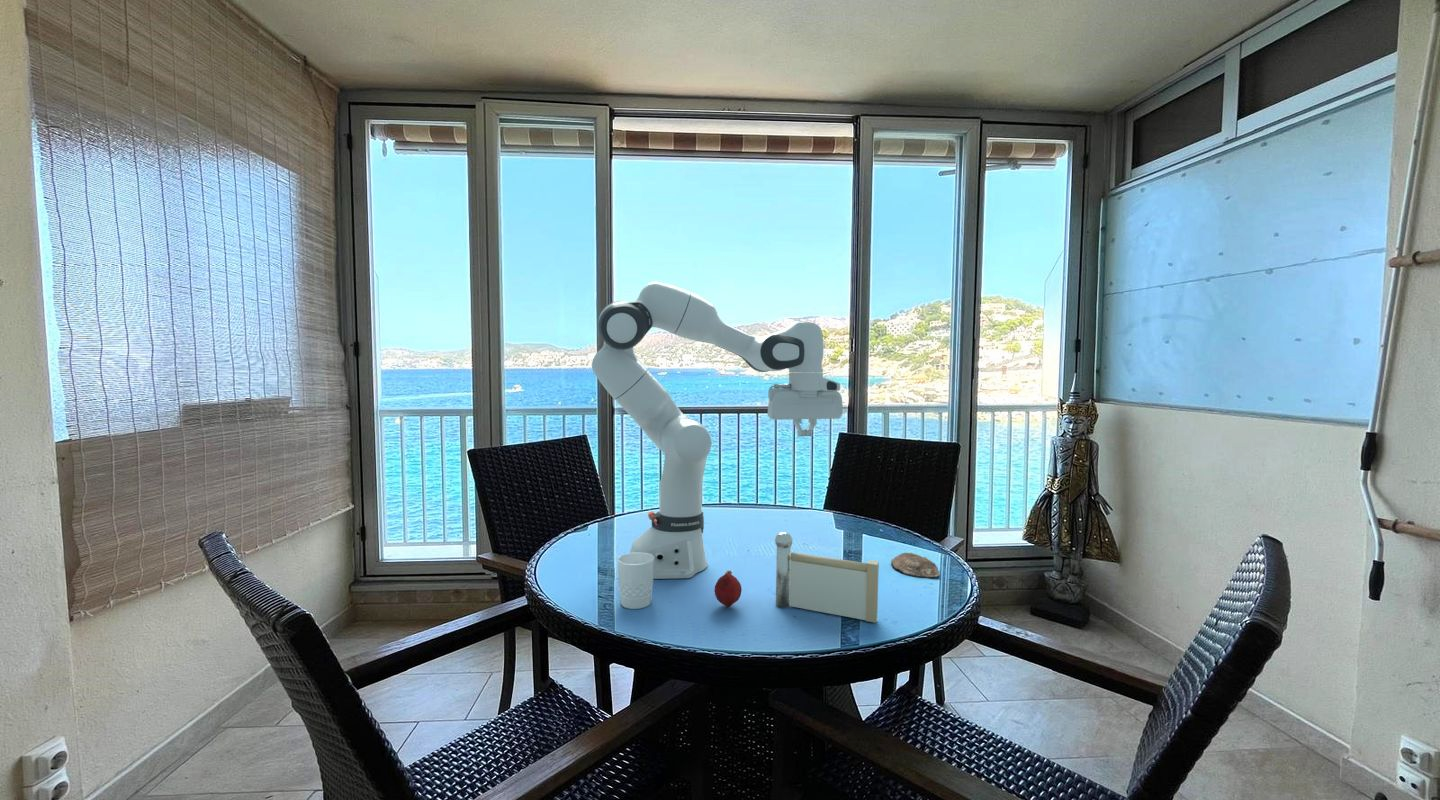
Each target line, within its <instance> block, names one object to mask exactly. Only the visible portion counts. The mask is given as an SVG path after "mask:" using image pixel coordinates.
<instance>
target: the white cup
mask: <svg viewBox="0 0 1440 800" xmlns="http://www.w3.org/2000/svg"><path fill="white" fill-rule="evenodd" d="M617 570H618V573H617V574H618V587H619V588H618V589H619V593H620V594H619V595H620V600H619V601H620V606H622V607H623V608H625V609H629V610H639V609H645V608H646V607H648V606H649V605H651V603H652V600H653V598H652V597H653V592H652V591H653V588H654V579H653V573H654V556H653V555H651V554H648V553H642V552H635V553H630V552H629V553H625V554H621V555H620V556H618V558H617Z"/></svg>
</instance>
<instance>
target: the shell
mask: <svg viewBox="0 0 1440 800" xmlns="http://www.w3.org/2000/svg"><path fill="white" fill-rule="evenodd" d="M890 563H891V564H890V565H891V567H892V569H893V570H894V571H896V572H898V573H900V574H902V575H905V576H909V577H913V578H914V577H915V578H920V579H921V578H923V579H936V578H937V577H939V576H940V572H939V569H938V566H937V565H936V563H935V562H933V561H932V560H930V559H929V558H927V557H925V556H921V555H919V554H916V553H913V552H902V553H900V554H898V555H897V556H895V557H893V558H892V559H891V561H890Z"/></svg>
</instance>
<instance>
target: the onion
mask: <svg viewBox="0 0 1440 800" xmlns="http://www.w3.org/2000/svg"><path fill="white" fill-rule="evenodd" d="M732 573H733V572H732V570H727V571H726V572H725V573H724V574H723V575H722V576H720V577H719V578H718V579H717V581H716V583H715V585H714V588H713V589H714V596H715V597H716V600H717V601H718V602H719V603H720V604H721V605H723V606H725V607H726V608H730V607H731V606H733V605H734V604H735V603H736V602H738V601H739V600H740V597H741V596H742V584H741V582H740V581H739V580H738V578H736V576H735V575H733V574H732Z"/></svg>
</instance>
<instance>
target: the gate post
mask: <svg viewBox="0 0 1440 800" xmlns="http://www.w3.org/2000/svg"><path fill="white" fill-rule="evenodd" d="M774 543H775V546H776V567H775V568H776V570H775V573H776V574H775V578H776V579H775V606H776V607H778V608H780V609H781V608H782V609H786V608H788V607H790V561H791V560H790V556H791V552H792V551H791V549H792V548H791V547H792V545H793V537H792V535H791V534H790V533H788V532H786V531H780V532H779V533H778V534H777V535H776V536H775V538H774Z"/></svg>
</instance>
